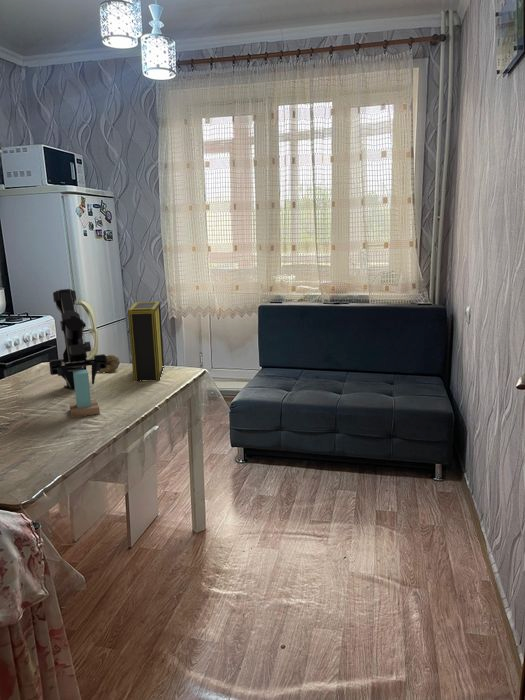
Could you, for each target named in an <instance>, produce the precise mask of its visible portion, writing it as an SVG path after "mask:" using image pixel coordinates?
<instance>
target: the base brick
mask: <svg viewBox="0 0 525 700" xmlns="http://www.w3.org/2000/svg"><path fill="white" fill-rule="evenodd" d="M68 404H69V413H70V416H71V418H72V419H76V418H75V417H78V418H82V417H81V416H84V417H88V416H87V415H91V416H95V415H94V414H97V415H101V414H100V413H101V411H100V406H99V404H98V401H97V399H91V406H90V407H83V408H78V407H77V405H76V402H70V403H68Z"/></svg>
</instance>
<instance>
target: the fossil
mask: <svg viewBox="0 0 525 700" xmlns="http://www.w3.org/2000/svg"><path fill="white" fill-rule="evenodd" d="M106 357H107V367H106V368H104V369H100V371H98V372H99V373H100V372H107V373H112V372H115V371H116V370H118V368H119V366H120V364H121V361H120V358H119V356H117V355H114V354H108V355H106Z"/></svg>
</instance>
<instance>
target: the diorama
mask: <svg viewBox="0 0 525 700" xmlns="http://www.w3.org/2000/svg"><path fill="white" fill-rule="evenodd" d="M161 311H162V310H161V302H160V301H147V302H146V301H143V302H139V301H138V302H137V301H136V302H135V303H134V304H133V305H132V306H130V308H129V309H128V310H127V314H128V317H127V318H128V327H129V328H128V331H129V338H130V342H129V343H130V352H131V353H130V354H131V364H132V365H131V366H132V378H133V382H134V381H137V382H143V381H142V380H159V381H161V379H160V377H161V378H162V376H161V374H162V375H163V373H162V371H163V368H164V369H165V356H164V342H163V326H162V312H161ZM162 366H164V367H162ZM163 372H164V371H163ZM140 380H141V381H140Z"/></svg>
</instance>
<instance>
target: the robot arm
mask: <svg viewBox="0 0 525 700" xmlns="http://www.w3.org/2000/svg"><path fill="white" fill-rule="evenodd" d="M52 300H53V303H55V307H56V309H57V311H59V313H60V315H61V320H60V321H59V323H60V325H59V326H60V330H61V332H63V337H64V345H65V349H64V351H63V354H62V358H58V359H51V360H49V362H48V363H49V374H50V375H51V376H55V375H57V376H58V377H61V378H62V379H63V380H64V381H65V382H66V385H63V388H65V389H70V390H75V387H74V378H73V371H78V370H86V369H87V366H88V367H89V366H91V384H92V385H94V384H95V381H96V380H95V379H96V375H97V374H98V373H97V372H99V371H100V369H104V368H106V367H107V357H106V356H107V355H106V354H105V353H102V354H94V357H93V359H87V358H88V355H87V353H89V352H91V351H92V346H91V342H90V341H84V339H83V337H84V330H85V328H86V323H85V321H84V320H83V319H82V318H81V315H80V313H78V312H77V311H76V310H75V303H76V301H77V294H76V290H74V289H73V290H72V289H71V288H65V289H64V288H63V289H61V288H60V289H58V290H55V291H54V292H52Z"/></svg>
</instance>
